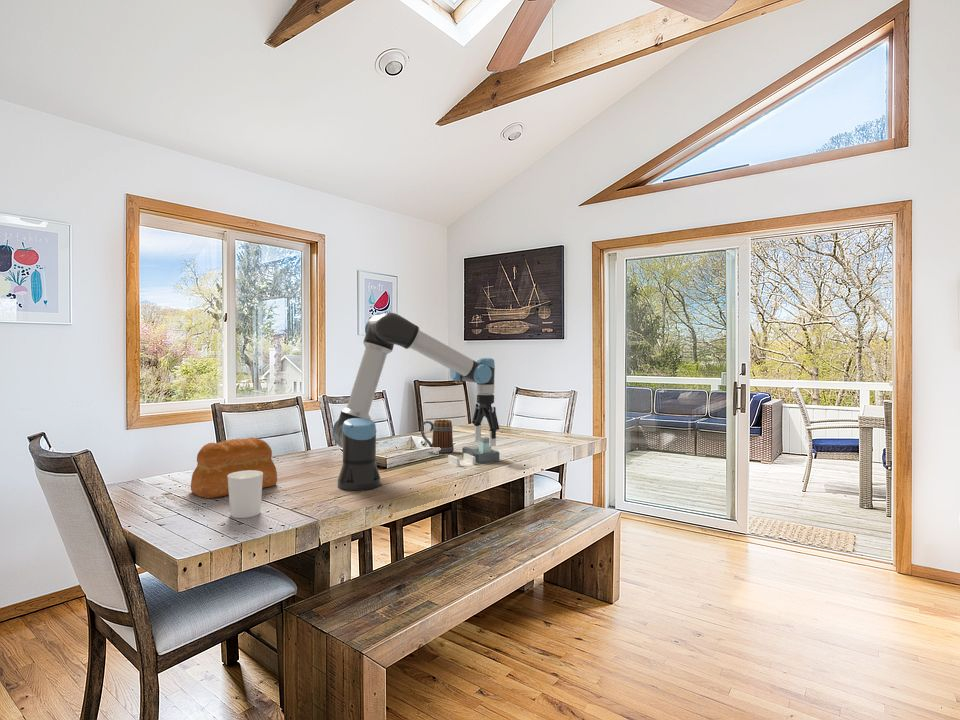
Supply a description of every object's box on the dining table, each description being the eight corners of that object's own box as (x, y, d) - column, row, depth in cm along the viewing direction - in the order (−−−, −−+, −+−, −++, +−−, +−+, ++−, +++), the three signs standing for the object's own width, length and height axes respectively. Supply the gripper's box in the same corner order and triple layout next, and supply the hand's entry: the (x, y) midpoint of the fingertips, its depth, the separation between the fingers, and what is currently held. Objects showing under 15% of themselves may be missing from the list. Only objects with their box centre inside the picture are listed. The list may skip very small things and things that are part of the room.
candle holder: (268, 508, 168) (268, 470, 167) (255, 519, 158) (255, 478, 157) (235, 508, 167) (235, 470, 167) (221, 519, 157) (221, 478, 157)
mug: (455, 450, 260) (455, 419, 260) (451, 455, 250) (452, 422, 249) (423, 449, 262) (423, 418, 261) (418, 454, 251) (418, 421, 251)
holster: (456, 468, 223) (456, 459, 223) (447, 464, 231) (447, 454, 231) (475, 466, 227) (476, 457, 227) (466, 462, 235) (466, 453, 235)
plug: (482, 464, 232) (483, 438, 231) (478, 462, 235) (478, 437, 235) (491, 463, 234) (491, 438, 233) (486, 461, 237) (487, 436, 237)
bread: (186, 492, 185) (186, 441, 185) (260, 478, 205) (260, 432, 204) (206, 501, 175) (205, 448, 174) (281, 485, 195) (281, 437, 194)
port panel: (478, 466, 229) (478, 453, 228) (462, 458, 243) (462, 446, 243) (499, 463, 233) (499, 451, 233) (482, 456, 247) (482, 444, 247)
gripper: (507, 396, 224) (507, 447, 225) (480, 391, 246) (479, 437, 247) (491, 397, 221) (491, 449, 221) (465, 391, 243) (464, 439, 243)
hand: (484, 443), depth 234 cm, fingers open, 13 cm apart
